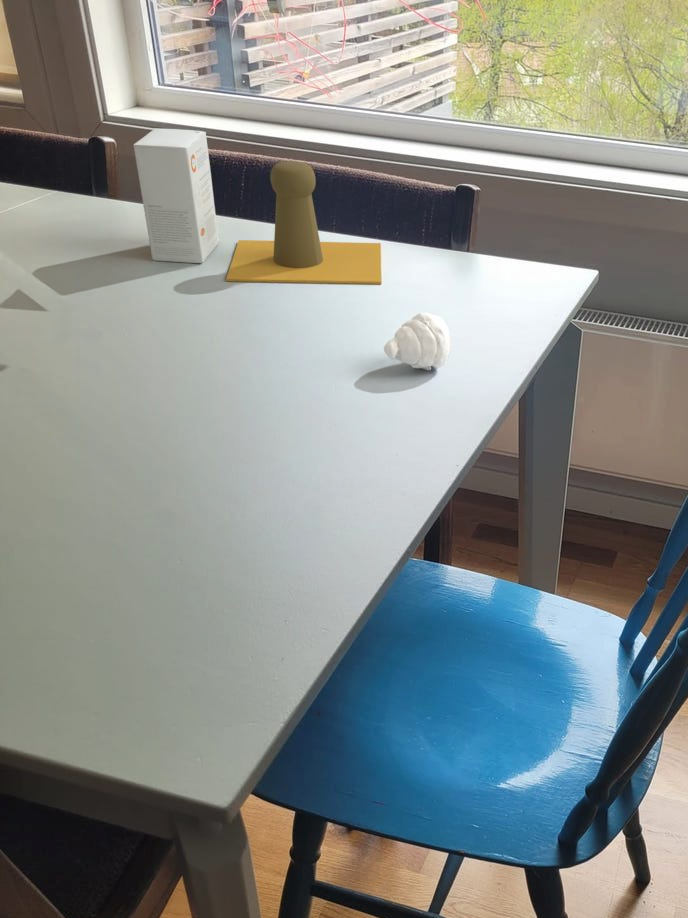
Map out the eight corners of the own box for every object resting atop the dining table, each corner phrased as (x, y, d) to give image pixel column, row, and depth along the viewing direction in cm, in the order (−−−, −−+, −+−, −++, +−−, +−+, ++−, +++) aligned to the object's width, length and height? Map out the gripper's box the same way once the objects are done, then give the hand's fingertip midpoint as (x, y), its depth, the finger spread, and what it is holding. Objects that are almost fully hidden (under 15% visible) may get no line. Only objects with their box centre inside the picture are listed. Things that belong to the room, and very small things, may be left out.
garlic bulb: (373, 366, 100) (372, 312, 96) (424, 354, 102) (425, 302, 99) (400, 387, 96) (400, 332, 93) (452, 374, 99) (454, 321, 96)
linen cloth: (226, 281, 116) (226, 278, 116) (238, 242, 127) (238, 239, 126) (381, 284, 117) (381, 281, 117) (380, 245, 128) (380, 243, 128)
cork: (264, 256, 122) (255, 160, 115) (306, 248, 125) (300, 153, 118) (290, 271, 118) (283, 172, 112) (332, 262, 122) (328, 165, 115)
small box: (170, 239, 126) (154, 126, 118) (220, 243, 126) (207, 130, 118) (150, 260, 120) (131, 143, 112) (202, 264, 120) (187, 147, 111)
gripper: (134, -155, 99) (115, -27, 97) (338, -140, 98) (322, -11, 97) (155, -101, 105) (138, 20, 104) (347, -86, 105) (333, 35, 103)
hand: (229, 5), depth 100 cm, fingers open, 8 cm apart
